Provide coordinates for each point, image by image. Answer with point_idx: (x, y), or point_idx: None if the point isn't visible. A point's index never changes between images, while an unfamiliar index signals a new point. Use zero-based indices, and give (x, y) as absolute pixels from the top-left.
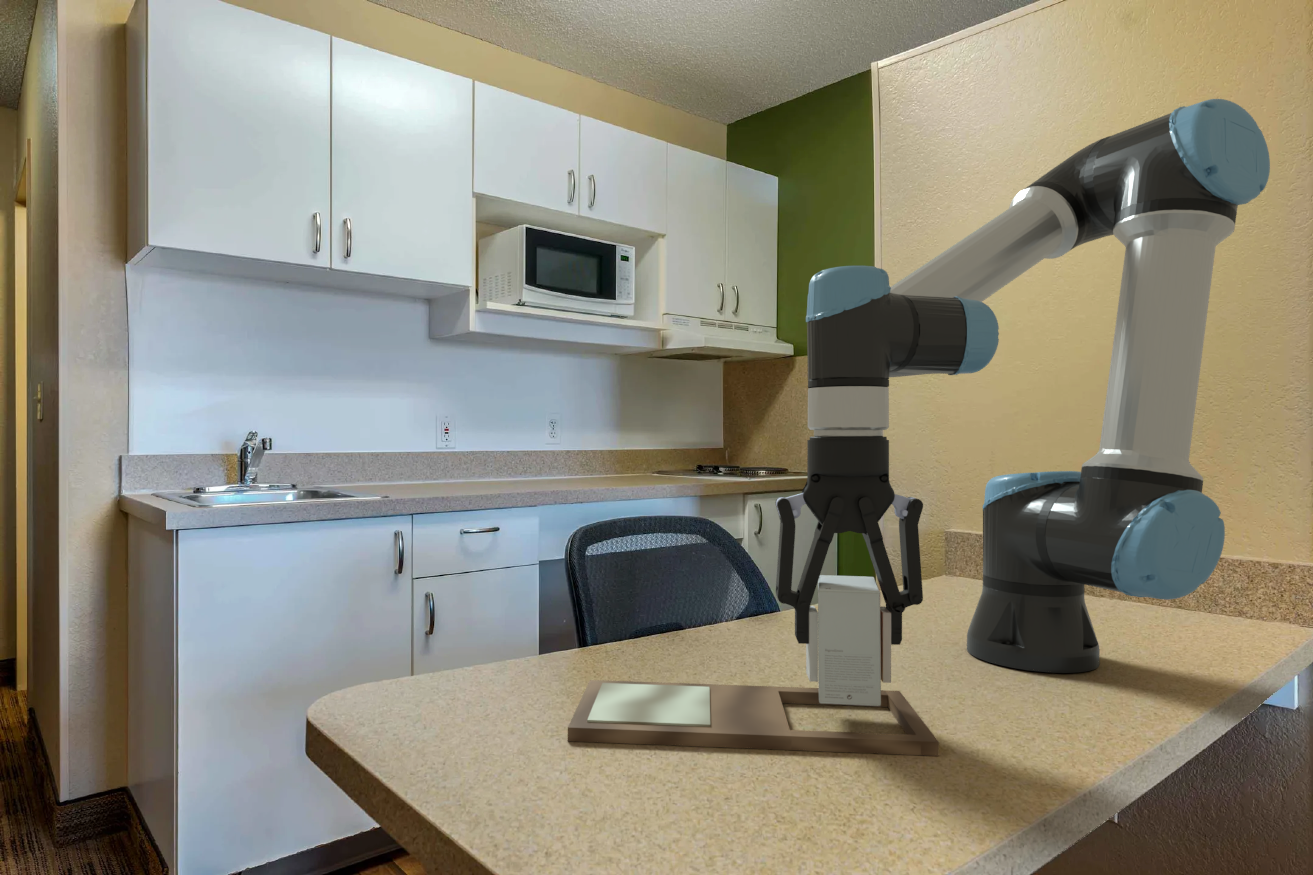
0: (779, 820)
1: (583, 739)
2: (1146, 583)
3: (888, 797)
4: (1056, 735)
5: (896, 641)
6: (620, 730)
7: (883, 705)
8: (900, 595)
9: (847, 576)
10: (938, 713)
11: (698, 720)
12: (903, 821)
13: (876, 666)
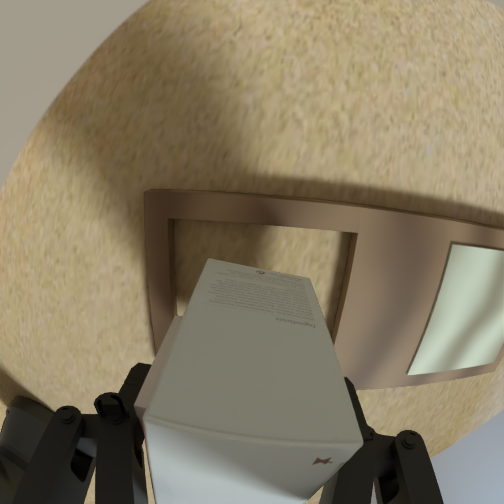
0: (396, 19)
1: None
2: None
3: (260, 53)
4: (28, 263)
5: (143, 368)
6: None
7: None
8: (98, 433)
9: None
10: (124, 333)
11: (460, 259)
12: (260, 3)
13: (203, 289)
